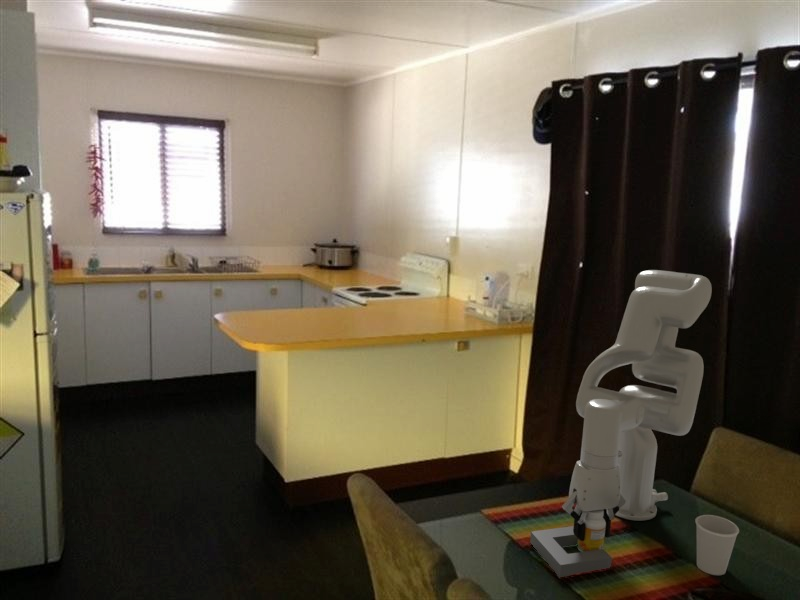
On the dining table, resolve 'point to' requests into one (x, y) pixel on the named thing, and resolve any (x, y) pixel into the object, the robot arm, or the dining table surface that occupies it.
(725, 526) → the dixie cup
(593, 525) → the supplement bottle
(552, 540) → the side entry holder
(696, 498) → the dining table surface
